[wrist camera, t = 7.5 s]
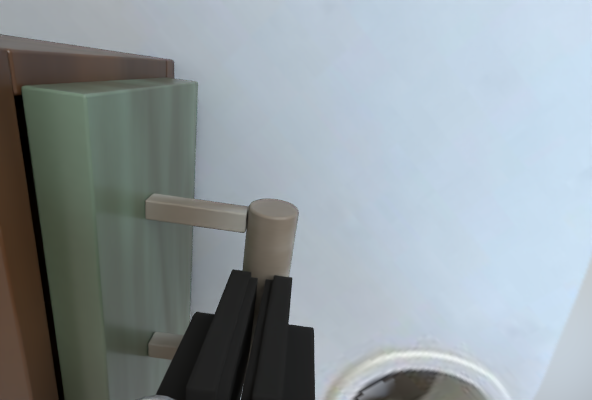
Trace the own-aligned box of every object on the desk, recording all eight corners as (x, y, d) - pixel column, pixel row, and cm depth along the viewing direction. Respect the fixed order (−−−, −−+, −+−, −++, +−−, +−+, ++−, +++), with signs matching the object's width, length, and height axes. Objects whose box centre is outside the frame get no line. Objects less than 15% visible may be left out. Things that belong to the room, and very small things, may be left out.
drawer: (312, 98, 13) (316, 128, 6) (276, 341, 17) (256, 508, 10) (-177, 27, 12) (-691, -18, 6) (-93, 291, 16) (-348, 431, 10)
